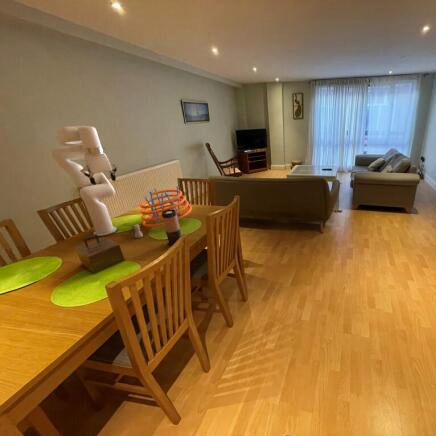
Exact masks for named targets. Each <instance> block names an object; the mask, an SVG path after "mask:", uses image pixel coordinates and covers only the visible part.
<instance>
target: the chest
mask: <svg viewBox="0 0 436 436" xmlns="http://www.w3.org/2000/svg"><path fill="white" fill-rule="evenodd" d="M75 251H76V253H77V255H78V258H79V260H80V262H81V265H82V266H83V267H85V268H86V269H87V270H89V271H91V272H92V273H93V274H97V273H99V272H101V271H104V270H106V269H108V268H111V267H113V266H115V265H117V264H120V263H122V262H124V261H125V257H124V254H123V252H122V251H123V250H122V249H121V245H120V246H118V247H115V248H113V249H110V250H108V251H105V252H103V253H100V254H97V255H95V256H92V257H90V258H88V257H86V256H85V255H83V254H82V253H80V252H78V251H77V250H75Z"/></svg>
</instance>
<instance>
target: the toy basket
mask: <svg viewBox="0 0 436 436" xmlns="http://www.w3.org/2000/svg"><path fill="white" fill-rule="evenodd" d="M148 193H149V195H150V199H148V197H147V196H144V199H145V200H144V201H143V202H141V203H140V204H139V207H140V208H142V209H140V213H141V220H142V222H141V225H142V226H143V227H146V228H155V227H162V226H164V222H161V223H160V220H163V218H162V215H161V216H159V214H162V212H163V211H165V210H175V211H176V214H178V216H177V219H178V222H179V221H180V220H182V219H183V218H185V217H187V216H188V215H189V214H190V213H191V212H192V209H193V206H191V204H189V201H188V200H186V196H185V195H183V192H182V190H179V186H178V185H176V189H162V190H158V191H157V189H156V188H154V192H153V191H151V190H150V191H148ZM167 193H172V194H167ZM174 193H175V194H174ZM158 194H160V195H158ZM163 194H164V195H163ZM154 195H155V196H156V197H154ZM172 197H173V198H172ZM165 198H166V200H164V199H165ZM156 200H157V202H155V201H156ZM150 202H151V203H150ZM173 202H177V203H173ZM146 204H148V205H146ZM181 206H183V207H181ZM180 207H181V208H180ZM187 208H189V209H187ZM148 209H150V210H148ZM186 209H187V211H186V212H184V213H183V214H182V215H181V212H182V211H184V210H186ZM147 210H148V211H147ZM147 215H149V216H147ZM146 216H147V217H146ZM156 221H157V222H158V223H156ZM146 222H153V223H154V224H146Z"/></svg>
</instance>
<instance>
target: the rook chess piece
mask: <svg viewBox="0 0 436 436" xmlns="http://www.w3.org/2000/svg"><path fill="white" fill-rule="evenodd" d="M133 229H134V232H135V233H134V237H135V238H136V239H140V238H143V236H144V234H143V232H142V231H141V230H140V225H139V224H137V223H136V224H134V225H133Z"/></svg>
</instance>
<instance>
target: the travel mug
mask: <svg viewBox="0 0 436 436" xmlns="http://www.w3.org/2000/svg"><path fill="white" fill-rule="evenodd" d="M177 214H178V213H177ZM177 214H176V209H174V210H173V209H170V210H165V211H163V212H161V216H162V218H163V219H162V223H164V225H163V226H164V230H165V234H166V237H167V241H168V244H169V245H170V246H174V245H173V244H174V243H175V242H176V241H177V240H178V239H179V238H180V237H181V238H182V234H181V233H182V232H181V228H180V224H179V221H178V219H177V217H178V215H177Z"/></svg>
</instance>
